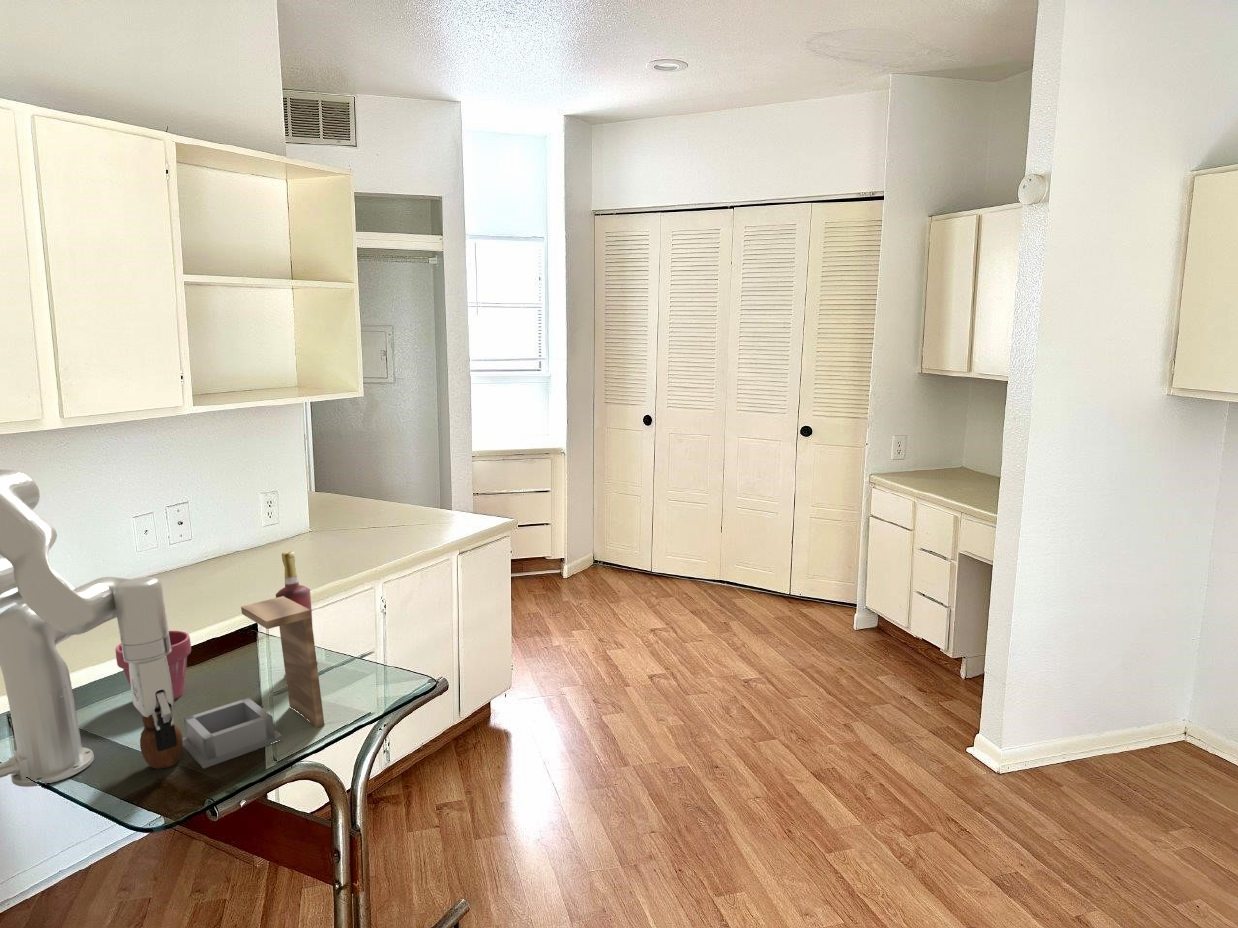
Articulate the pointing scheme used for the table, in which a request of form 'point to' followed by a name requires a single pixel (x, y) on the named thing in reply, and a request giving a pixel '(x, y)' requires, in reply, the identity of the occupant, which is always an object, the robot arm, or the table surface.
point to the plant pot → (168, 660)
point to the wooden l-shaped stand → (294, 652)
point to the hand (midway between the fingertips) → (161, 740)
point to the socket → (228, 732)
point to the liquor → (294, 584)
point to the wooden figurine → (149, 745)
